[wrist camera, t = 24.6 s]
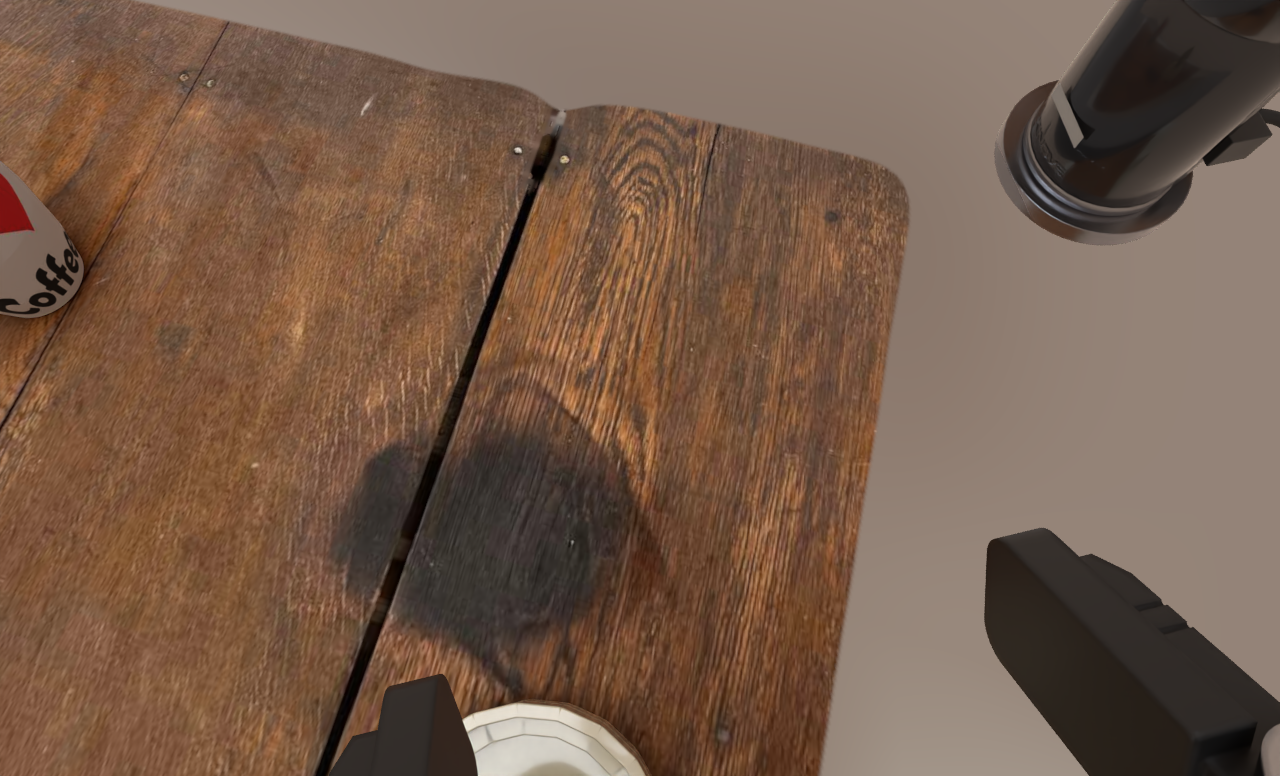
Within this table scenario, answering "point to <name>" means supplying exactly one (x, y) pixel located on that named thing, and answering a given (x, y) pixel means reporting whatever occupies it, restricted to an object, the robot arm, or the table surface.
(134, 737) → the table surface
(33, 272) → the cup
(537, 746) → the bowl
